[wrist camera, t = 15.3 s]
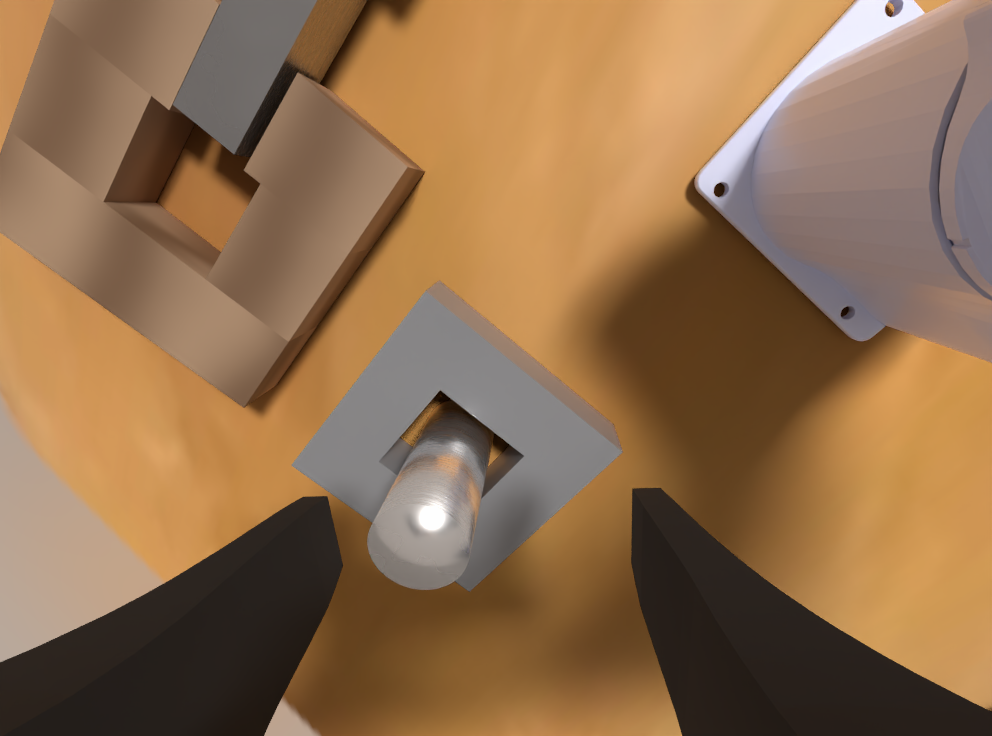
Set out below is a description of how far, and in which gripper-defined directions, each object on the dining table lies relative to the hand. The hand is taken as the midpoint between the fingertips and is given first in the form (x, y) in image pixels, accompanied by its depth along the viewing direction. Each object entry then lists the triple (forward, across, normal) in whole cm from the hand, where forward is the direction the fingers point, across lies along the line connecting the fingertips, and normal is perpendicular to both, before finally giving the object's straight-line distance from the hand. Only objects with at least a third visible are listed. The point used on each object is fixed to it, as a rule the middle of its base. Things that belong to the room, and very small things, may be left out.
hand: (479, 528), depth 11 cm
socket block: (+10, +11, -9) cm, 17 cm away
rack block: (+10, +2, +3) cm, 11 cm away
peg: (+10, +2, +2) cm, 11 cm away
